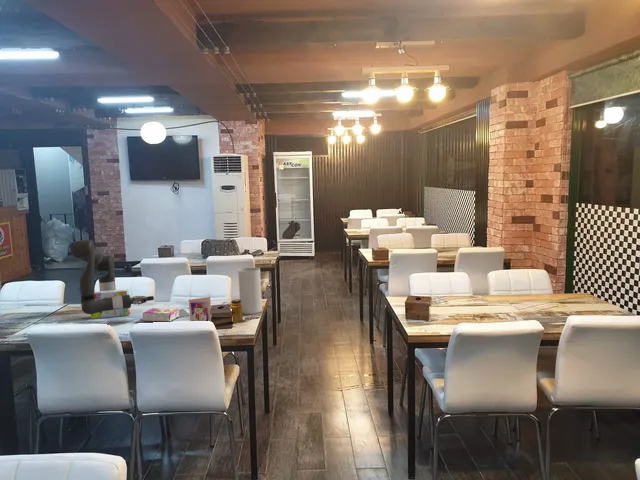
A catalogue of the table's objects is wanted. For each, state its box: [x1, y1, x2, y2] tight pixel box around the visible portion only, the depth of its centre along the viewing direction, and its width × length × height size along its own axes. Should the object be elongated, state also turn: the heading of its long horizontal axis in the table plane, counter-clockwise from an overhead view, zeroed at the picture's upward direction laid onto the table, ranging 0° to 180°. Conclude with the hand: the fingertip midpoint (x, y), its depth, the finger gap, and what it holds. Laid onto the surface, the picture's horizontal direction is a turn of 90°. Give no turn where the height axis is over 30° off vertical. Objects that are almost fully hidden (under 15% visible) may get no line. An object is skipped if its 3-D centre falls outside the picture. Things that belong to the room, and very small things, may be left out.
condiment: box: [230, 298, 249, 325], centre depth 274 cm, size 7×8×12 cm
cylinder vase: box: [237, 267, 263, 315], centre depth 292 cm, size 12×12×25 cm
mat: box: [176, 308, 190, 319], centre depth 292 cm, size 20×17×1 cm
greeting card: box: [188, 296, 212, 322], centre depth 267 cm, size 11×7×15 cm, turn 82°
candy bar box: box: [142, 307, 180, 322], centre depth 283 cm, size 11×5×16 cm
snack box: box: [90, 288, 131, 320], centre depth 294 cm, size 21×6×15 cm, turn 100°
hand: (153, 297), depth 287 cm, fingers closed
